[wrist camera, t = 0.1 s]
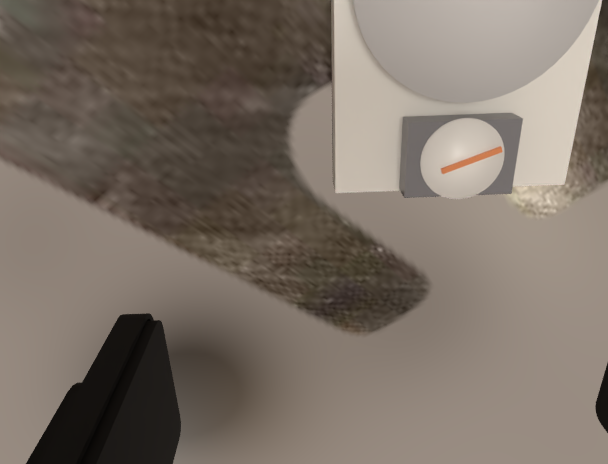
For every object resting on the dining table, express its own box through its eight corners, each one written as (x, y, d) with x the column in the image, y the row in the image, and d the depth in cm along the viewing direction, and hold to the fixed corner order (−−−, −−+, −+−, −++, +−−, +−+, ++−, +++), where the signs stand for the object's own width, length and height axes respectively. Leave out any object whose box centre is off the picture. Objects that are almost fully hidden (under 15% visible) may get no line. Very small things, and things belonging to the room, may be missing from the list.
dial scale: (329, -180, 31) (335, -214, 26) (614, -191, 31) (673, -227, 26) (332, 180, 41) (337, 204, 36) (546, 172, 41) (580, 195, 36)
